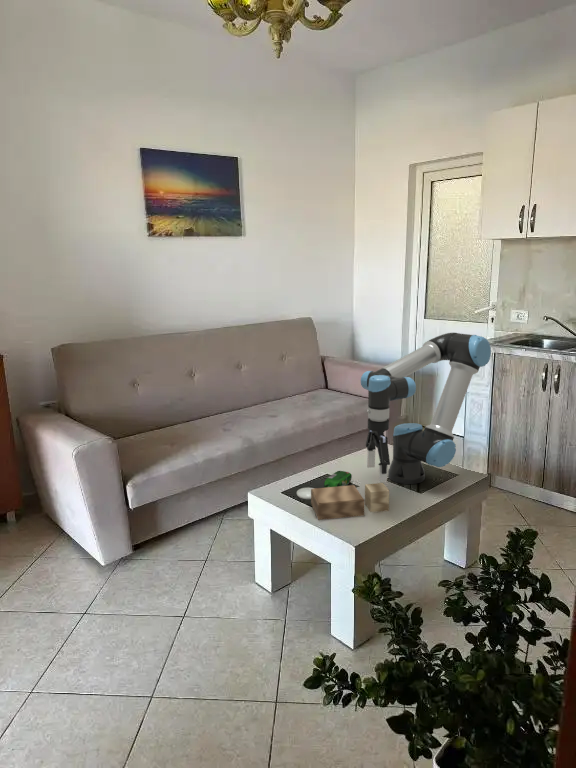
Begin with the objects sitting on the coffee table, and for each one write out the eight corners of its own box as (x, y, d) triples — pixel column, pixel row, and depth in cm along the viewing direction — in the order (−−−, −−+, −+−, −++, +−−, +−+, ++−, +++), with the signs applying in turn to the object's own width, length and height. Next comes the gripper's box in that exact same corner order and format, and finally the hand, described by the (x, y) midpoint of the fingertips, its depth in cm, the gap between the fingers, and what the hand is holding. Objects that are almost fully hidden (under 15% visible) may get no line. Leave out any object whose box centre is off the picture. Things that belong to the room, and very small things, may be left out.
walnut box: (354, 499, 204) (354, 484, 203) (364, 515, 192) (364, 499, 190) (311, 503, 202) (310, 488, 200) (318, 519, 189) (318, 503, 188)
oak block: (382, 502, 202) (383, 482, 200) (388, 510, 195) (389, 490, 193) (364, 504, 201) (365, 484, 199) (370, 512, 194) (370, 492, 192)
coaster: (316, 488, 215) (316, 486, 215) (321, 498, 206) (321, 496, 206) (295, 490, 213) (294, 488, 213) (298, 500, 205) (298, 498, 205)
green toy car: (320, 492, 212) (320, 480, 210) (339, 478, 224) (339, 467, 223) (336, 496, 208) (336, 484, 207) (354, 482, 221) (354, 470, 219)
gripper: (358, 409, 201) (357, 462, 206) (379, 429, 177) (377, 488, 182) (377, 408, 202) (375, 461, 207) (400, 428, 178) (398, 487, 183)
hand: (376, 474), depth 195 cm, fingers open, 13 cm apart
